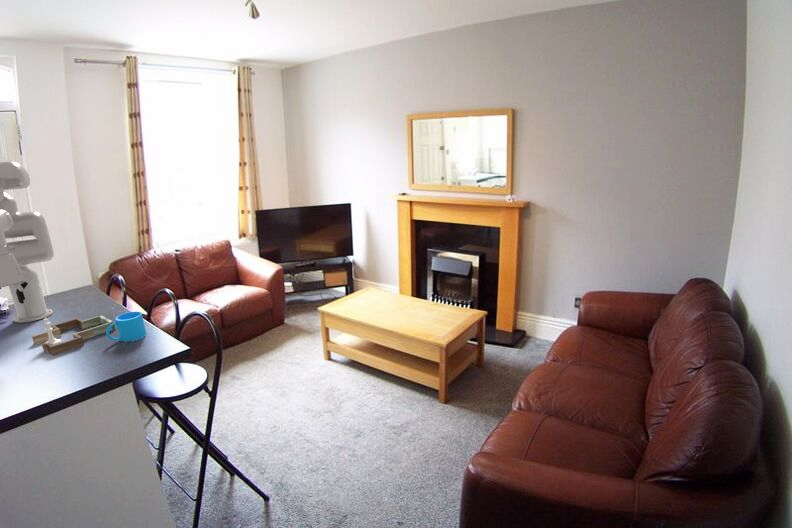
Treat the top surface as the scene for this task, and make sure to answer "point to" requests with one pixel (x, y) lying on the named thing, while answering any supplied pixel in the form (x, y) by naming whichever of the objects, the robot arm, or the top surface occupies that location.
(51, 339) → the chess piece
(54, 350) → the box
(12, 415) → the top surface
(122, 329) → the mug
